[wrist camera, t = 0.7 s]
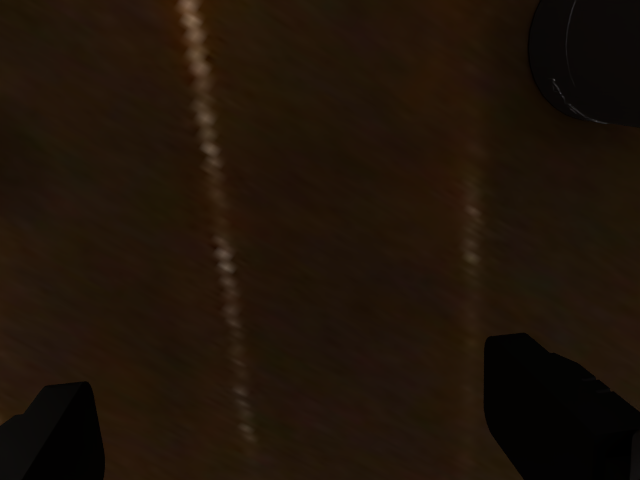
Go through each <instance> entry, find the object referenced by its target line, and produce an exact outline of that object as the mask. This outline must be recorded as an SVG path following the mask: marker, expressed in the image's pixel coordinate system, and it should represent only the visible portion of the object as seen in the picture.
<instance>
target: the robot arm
mask: <svg viewBox="0 0 640 480" xmlns="http://www.w3.org/2000/svg"><path fill="white" fill-rule="evenodd" d="M529 56H530V65H531V69H532V72H533V75H534V78H535V81H536V84H537V85H538V87H539V89H540V90H541V92H542V94H543V95H544V97H545V98H546V99H547V100H548V101H549V102H550V103H551V104H552V105H553V106H554V107H555V108H556V109H558V110H560V111H561V112H563V113H565V114H566V115H568V116H571V117H574V118H577V119H581V120H587V121H593V122H597V123H603V124H608V123H609V124H617V125H624V126H631V127H639V128H640V0H541V2H540V4H539V6H538V8H537V10H536V12H535V16H534V19H533V23H532V27H531V30H530V41H529ZM484 413H485V418H486V422H487V425H488V428H489V430H490V432H491V434H492V436H493V437H494V439H495V440H496V441H497V443H498V444H499V446H500V447H501V448H502V450H503V451H504V453H505V454H506V455H507V457H508V458H509V459H510V461H511V462H512V464H513V465H514V466H515V468H516V469H517V471H518V472H519V473H520V475H521V476H522V477H523V479H524V480H640V412H639V411H638V410H636V409H635V408H634V407H633V406H631V405H630V404H629V403H628V402H626V401H625V400H624V399H623V398H621V397H620V396H619V395H617V394H616V393H615V392H614V391H612V392H611V391H610V388H609V387H607V386H606V385H605V384H604V383H602V382H601V381H600V380H596V378H595V376H594V375H592V374H591V373H590V372H589V371H587V370H586V369H585V368H584V367H582V366H581V365H580V364H578V363H576V362H574V361H572V360H569V359H567V358H565V357H562V356H560V355H558V354H556V353H549V352H548V351H547V350H546V349H544V348H543V347H542V346H541V345H540V344H539V343H537V342H536V341H535V340H534V339H533V338H531V337H530V336H529V335H528V334H526V333H516V334H508V335H499V336H490V337H488V338H487V340H486V342H485V347H484ZM104 471H105V455H104V448H103V443H102V437H101V432H100V427H99V421H98V416H97V411H96V406H95V400H94V395H93V391H92V388H91V386H90V384H89V383H88V382H86V381H84V382H75V383H66V384H57V385H48V386H45V387H44V388H43V389H42V390H41V391H40V393H39V394H38V395H37V397H36V398H35V399H34V401H33V402H32V403H31V405H30V406H29V407H28V409H27V410H26V411H25V413H24V414H21V415H15V416H13V417H12V418H11V419H9V420H8V421H6V422H5V423H4V424H2V425H1V426H0V480H103V478H104Z"/></svg>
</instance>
